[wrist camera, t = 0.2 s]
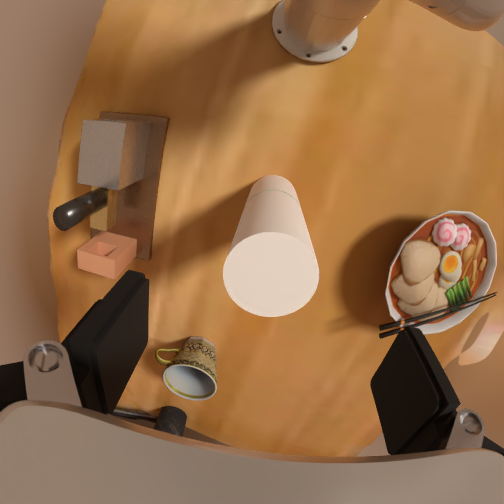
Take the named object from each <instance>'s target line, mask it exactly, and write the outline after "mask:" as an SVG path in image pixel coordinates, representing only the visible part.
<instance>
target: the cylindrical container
mask: <svg viewBox="0 0 504 504" xmlns="http://www.w3.org/2000/svg"><path fill="white" fill-rule="evenodd" d="M223 279H224V284H225V287H226V290H227V292H228V294H229V295H230V297H231V298H232V300H233V301H234V302H235V303H236V304H237V305H239V306H240V307H241V308H243V309H244V310H246V311H248V312H250V313H252V314H256V315H259V316H266V317H278V316H283V315H287V314H290V313H292V312H295V311H297V310H298V309H300V308H301V307H303V306H304V305H305V304H306V303H307V302H308V301H309V300H310V299H311V297H312V296H313V295H314V293H315V291H316V289H317V285H318V281H319V268H318V263H317V260H316V256H315V253H314V249H313V246H312V243H311V239H310V236H309V233H308V230H307V226H306V223H305V220H304V217H303V213H302V210H301V207H300V204H299V201H298V198H297V195H296V192H295V189H294V187H293V185H292V184H291V183H290V182H289V181H288V180H287V179H285V178H283V177H281V176H278V175H268V176H264V177H262V178H260V179H259V180H257V181H256V182H255V183H254V185H253V186H252V188H251V190H250V193H249V196H248V199H247V201H246V204H245V207H244V210H243V213H242V215H241V218H240V221H239V224H238V227H237V229H236V232H235V235H234V238H233V241H232V244H231V247H230V249H229V252H228V255H227V258H226V261H225V264H224V269H223Z"/></svg>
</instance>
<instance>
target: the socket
mask: <svg viewBox="0 0 504 504" xmlns="http://www.w3.org/2000/svg"><path fill="white" fill-rule="evenodd" d="M136 248H137V239H134V238H129V237H125V236H121V235H117V234H113V233H109V232H105V231H102V232H100V233H99V234H97V235H96V236H95V237H93V238H92V239H91V240H89V241H88V242H87V243H85V244H84V245H83V246H81V247H80V248H79V249H77V258H78V268H79V269H82V270H85V271H88V272H91V273H95V274H98V275H101V276H104V277H108V278H111V279H114V280H115V279H116V278H117V277H118V275H119V274H120V273H121V272H122V271H123V270H124V269H125V268H126V267H127V266H128V265H129V264H130V262H131V261H132V260H133V259H134V258H135V257H136Z"/></svg>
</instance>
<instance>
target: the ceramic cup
mask: <svg viewBox="0 0 504 504" xmlns="http://www.w3.org/2000/svg"><path fill="white" fill-rule="evenodd" d="M159 351H164V352H171V351H174V352H176V355H175V357H174V358H173V359H170V360H164V359H162V358H160V357H159V356H158V352H159ZM155 358H156V360H157V361H158V362H159V363H160V364H162V365H167V367H166V369H165V371H164V372H163V381H164V383H165V385H166V386H167V388H168V389H169V390H170V391H172V392H173V393H174V394H176V395H178V396H180V397H182V398H185V399H189V400H206V399H208V398H210V397H212V396H213V395H214V394H215V393H216V390H217V373H216V351H215V345H214V344H213V343H211V342H210V341H209V340H207V339H206V338H204V337H190V338H189V339H188V340H187V341H186V342H184V344H183V345H182V347H181V348H178V349H158V350H157V351H156V352H155Z"/></svg>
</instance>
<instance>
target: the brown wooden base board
mask: <svg viewBox="0 0 504 504" xmlns="http://www.w3.org/2000/svg"><path fill="white" fill-rule="evenodd" d="M110 121H112V122H110ZM168 123H169V118H165V117H157V116H148V115H138V114H128V113H116V112H101V115H100V119H89V120H83V126H82V134H81V143H80V153H79V165H78V180H77V183H80V184H85V185H91V186H96V187H102V188H107V189H112V190H117V191H118V196H117V210H116V225H115V226H113V227H112V228H111V229H109V230H108V231H105V232H109V233H113V234H117V235H121V236H125V237H129V238H134V239H137V248H136V257H135V258H139V259H143V260H147V261H149V260H150V259H151V251H152V239H153V229H154V219H155V210H156V201H157V193H158V185H159V178H160V171H161V164H162V158H163V152H164V146H165V140H166V134H167V129H168ZM100 232H102V230H98V229H94V228H91V239H92V238H93V237H95V236H96V235H97V234H99V233H100Z"/></svg>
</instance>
